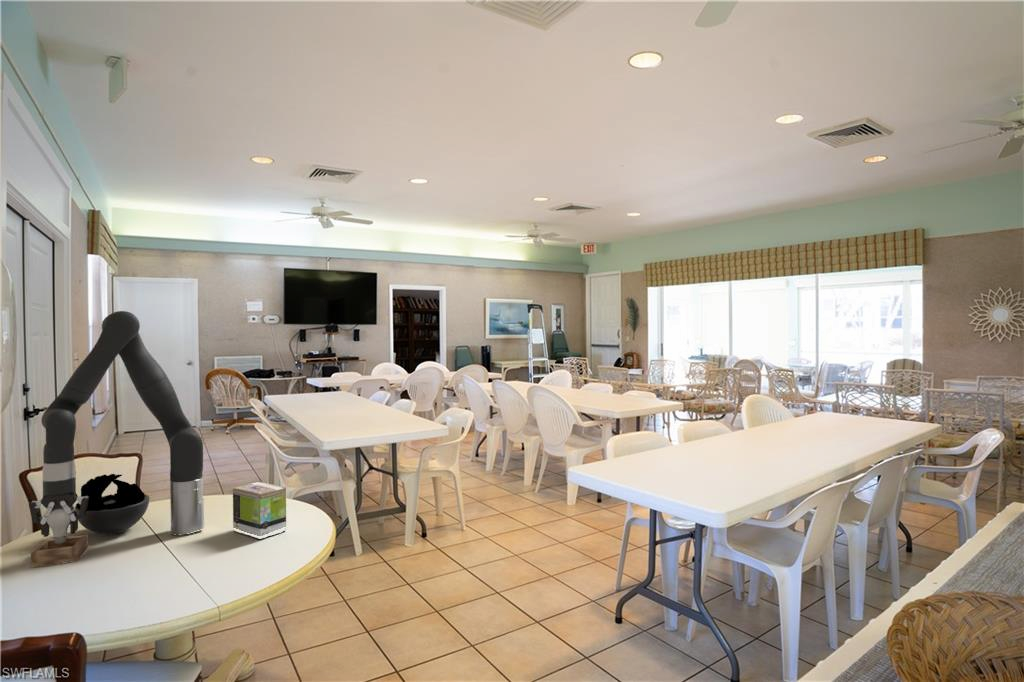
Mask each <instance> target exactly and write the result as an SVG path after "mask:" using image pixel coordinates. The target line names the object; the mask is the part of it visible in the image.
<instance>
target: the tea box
mask: <svg viewBox="0 0 1024 682" xmlns="http://www.w3.org/2000/svg"><path fill="white" fill-rule="evenodd" d="M232 526H233V527H232V529H233V528H236V529H239V530H241V531H244V532H247V533H250V534H254V535H257V536H263V535H265V534H268V533H270V532H273V531H275V530H278V529H281V528H283V527H286V528H287V488H286V487H285V486H282V485H281V486H280V485H277V484H271V483H267V482H261V481H257V482H253V483H248V484H244V485H240V486H235V487H233V488H232Z"/></svg>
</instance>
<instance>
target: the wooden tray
mask: <svg viewBox="0 0 1024 682" xmlns="http://www.w3.org/2000/svg"><path fill="white" fill-rule="evenodd" d="M88 542H89V541H88V534H84V535H77V536H66V541H65V542H64V543H63V544H62V545H58V544H55V540H54V538H52V539H51V538H50V539H44V540H43V541H42V542H41V543H40V544H38V546H36V547H35V549H33V550H32V551H31V552H30V559H31V560H30V561H31V562H30V563H29V568H34V567H35V568H37V567H44V565H45V566H49V565H50V564H52V565H59V564H58V563H60V564H64V563H63V562H68V563H72V562H71V561H75V562H79V560H80V559H81V558H82V557H83V555H84V554H85V553H86V552H87V551H88V550H89V549H90V544H88ZM87 549H88V550H87ZM86 550H87V551H86ZM81 556H82V557H81ZM36 566H37V567H36Z"/></svg>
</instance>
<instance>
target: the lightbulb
mask: <svg viewBox="0 0 1024 682" xmlns="http://www.w3.org/2000/svg"><path fill="white" fill-rule="evenodd" d="M70 522H71V519H70V515H68V514H67V513H66V512H65V510H64V509H56V510H53V511H51V513H50V514H49V516H48V517H47V523H48V525H49V529H51V531H52V537H54V538H53V539H54V540H55V544H58V545H62V544H63V543H64V542H65V541H66V537H67V535H68V530H69V528H70Z"/></svg>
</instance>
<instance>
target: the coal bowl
mask: <svg viewBox="0 0 1024 682" xmlns="http://www.w3.org/2000/svg"><path fill="white" fill-rule="evenodd" d="M122 476H123V474H115V473H111V474H109V475H107V474H103V475H98V476H97V475H96V476H95V477H94V478H90V479H89V480H87V482H86V483H84V484H83V485H81V486H80V497H85V496H89V501H88V506H87V511H86V515H85V516H84V517H83V518H80V519H78V523H79V524H80V525H81V526H82V527H83V528H85V529H86V530H87V531H89V532H92V533H95V534H99V535H113V534H118V533H122V532H124V531H126V530H128V529H130V528H132V527H133V526H134V525H136V524H137V523H138V522H140V520H141V519H142V518H143V517H144V515H145V513H146V512H147V510H148V507H149V505H150V496H149V494H145V492H144V491H143V490H142V489H141V488H140V486H139V485H138V484H137V483H131V484H130V483H129V482H126V481H123V480H120V479H118V478H120V477H122ZM111 484H113V485H115V486H116V492H115V493H114V494H108V495H104V496H103V493H104V492H105V491H106V490H107V488H108V487H109V486H110V485H111ZM80 506H81V505H80V504H79V502H78V503H76V504H75V506H74V507H75V509H76V512H77V514H79V511H80Z"/></svg>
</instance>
